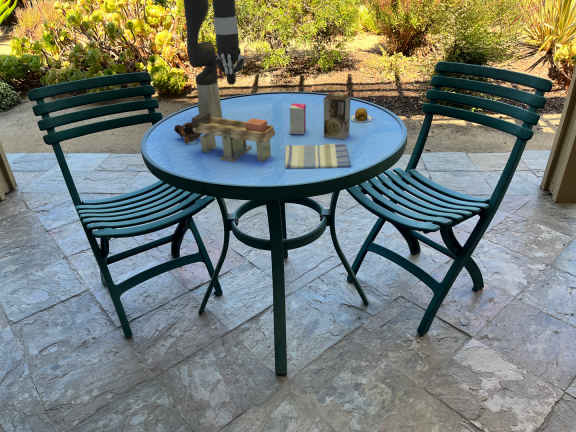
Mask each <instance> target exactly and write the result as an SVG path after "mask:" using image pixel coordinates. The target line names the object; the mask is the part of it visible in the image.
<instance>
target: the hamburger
mask: <svg viewBox="0 0 576 432" xmlns="http://www.w3.org/2000/svg"><path fill="white" fill-rule="evenodd" d="M354 113H355V114H354V115H352V116H350V119H351V120H352V121H353V122H357V123H359V122H365V123H367V122H370V121H371V120H372V116H370V115H369V114H368V110H367V109H366V108H364V107H359V108H357V109H356V110H355V112H354ZM354 119H355V120H354ZM367 119H369V120H367Z"/></svg>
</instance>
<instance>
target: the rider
mask: <svg viewBox="0 0 576 432" xmlns="http://www.w3.org/2000/svg"><path fill="white" fill-rule="evenodd" d="M245 122H246V123H245V126H246V130H250V131H257V132H263V134H264V132H265V131H267V130H268V129H267V125H268V120H266V119H259V118H250V119H249V120H248V121H245Z"/></svg>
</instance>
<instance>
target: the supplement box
mask: <svg viewBox="0 0 576 432" xmlns="http://www.w3.org/2000/svg"><path fill="white" fill-rule="evenodd" d="M291 103H292V102H291ZM306 107H307V105H306V104H305V103H292V104H291V105H290V106H289V135H290V136H304V135H305V132H306V128H307V127H306V126H307V125H306V119H307V118H306V115H307V114H306V113H307V111H306V110H307V108H306Z"/></svg>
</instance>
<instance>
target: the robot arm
mask: <svg viewBox="0 0 576 432" xmlns="http://www.w3.org/2000/svg"><path fill="white" fill-rule="evenodd" d="M182 1H183V7H184V8H183V9H184V16H185V25H186V26H185V27H186V50H187V59H188V62H189V64H190V66H191V67H192V68H195V69H197V68H202V67H204V69H202V71H201V72H199V73H198V74H197V75H195V84H196V85H195V86H196V90H197V96H198V100H197V101H196V103H197V109H198V110H197V111H198V114H200V113H202V112H210V114H211V117H215V118H222V119H223V112H222V105H221V97H220V89H219V88H220V87H219V81H218V75H219V74H218V68H219V70H220V72H224V73H225V74H226V82H227V84H228V85H230V86H233V85H235V83H236V82H237V77H236V76H237V75H236V74H237V73H238V72H240V71H241V70H242V68H243V66H244V65H245V63H246V61H247V59H248V58H247V56H243V55H242V54H241V50H240V40H239V39H240V37H239V27H238V19H237V16H236V14H237V13H236V4H235V3H236V1H235V0H212V9H213V10H212V11H213V19H214V21H213V25H214V34H215V35H214V36H215V44H216V47H217V50H216V49H215V45H214V44H213V43H212V42H210V41H204V42H203V41H202V42H199V34H200V32H201V28H202V25H203V23H204V22H205V19H206V17H207V15H208V12H209V0H182Z"/></svg>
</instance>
